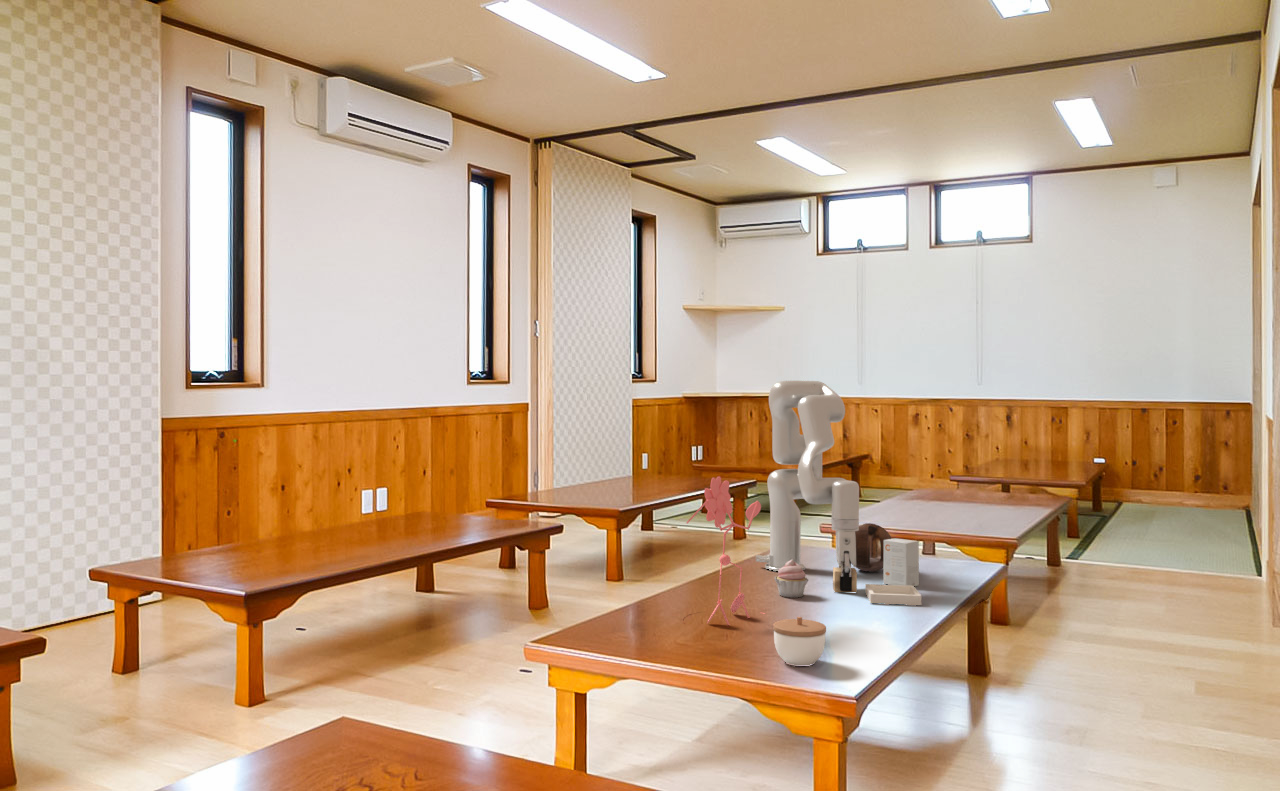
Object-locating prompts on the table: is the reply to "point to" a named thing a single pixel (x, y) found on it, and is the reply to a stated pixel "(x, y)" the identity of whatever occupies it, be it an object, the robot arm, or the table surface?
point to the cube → (837, 579)
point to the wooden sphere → (870, 547)
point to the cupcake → (791, 580)
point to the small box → (901, 562)
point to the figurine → (717, 510)
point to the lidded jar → (799, 640)
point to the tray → (893, 594)
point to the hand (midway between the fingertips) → (844, 587)
